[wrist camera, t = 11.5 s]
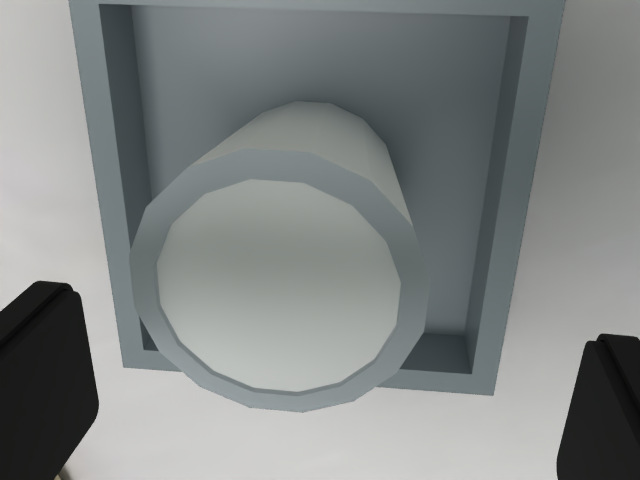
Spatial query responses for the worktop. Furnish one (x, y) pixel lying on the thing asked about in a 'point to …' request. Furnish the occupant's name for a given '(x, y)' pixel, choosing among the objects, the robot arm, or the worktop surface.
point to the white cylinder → (284, 263)
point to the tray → (353, 96)
